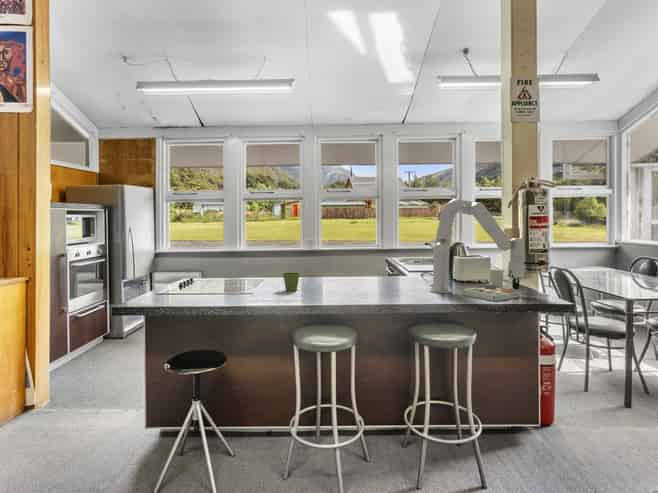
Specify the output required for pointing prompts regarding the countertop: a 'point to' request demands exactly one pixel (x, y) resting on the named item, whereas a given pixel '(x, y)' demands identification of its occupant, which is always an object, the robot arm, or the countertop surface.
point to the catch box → (483, 295)
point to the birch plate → (497, 292)
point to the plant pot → (291, 280)
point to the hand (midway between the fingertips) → (515, 288)
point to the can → (496, 277)
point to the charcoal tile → (490, 286)
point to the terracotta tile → (507, 289)
